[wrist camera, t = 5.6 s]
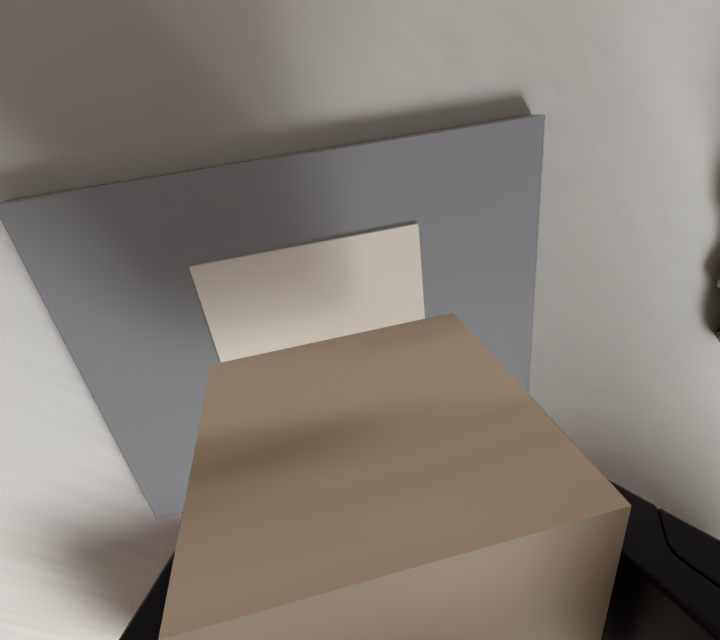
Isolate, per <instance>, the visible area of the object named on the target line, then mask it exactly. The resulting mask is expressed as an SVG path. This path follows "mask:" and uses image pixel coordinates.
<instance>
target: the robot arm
mask: <svg viewBox="0 0 720 640" xmlns="http://www.w3.org/2000/svg"><path fill="white" fill-rule="evenodd" d="M608 481H609V482H610V483H611V484H612V485H613V486H614V487H615V488H616V489H617V490H618V491H619V493H620V494H621V495H622V496H623V497H624V498H625V499H626V500H627V501H628V502H629V503H630V504H631V510H630V515H629V519H628V523H627V528H626V532H625V536H624V541H623V545H622V550H621V554H620V558H619V563H618V567H617V571H616V576H615V580H614V585H613V589H612V593H611V598H610V602H609V607H608V611H607V615H606V620H605V624H604V628H603V633H602V637H601V640H720V540H718V539H716V538H715V537H713V536H711V535H709V534H707V533H705V532H703V531H701V530H699V529H698V528H696V527H694V526H692V525H690V524H688V523H686V522H684V521H682V520H681V519H679V518H677V517H675V516H673V515H672V514H670V513H668V512H666V511H664V510H663V509H658V510H657V507H656V506H655V505H653V504H652V503H650V502H648V501H646V500H644V499H642V498H641V497H639V496H637V495H635V494H633V493H632V492H630V491H628V490H626V489H624V488H623V487H621V486H619V485H617V484H615V483H614V482H612V481H610V480H608ZM174 555H175V551H174V552H173V554H172V555H171V557H170V559H169V560H168V562H167V563H166V565H165V567H164V568H163V570H162V571H161V573H160V575H159V576H158V578H157V579H156V581H155V583H154V584H153V586H152V587H151V589H150V591H149V592H148V594H147V595H146V597H145V599H144V600H143V602H142V603H141V605H140V607H139V608H138V610H137V611H136V613H135V615H134V616H133V618H132V619H131V621H130V623H129V624H128V626H127V627H126V629H125V631H124V632H123V634H122V635H121V637H120V639H119V640H158V639H159V634H160V628H161V623H162V618H163V613H164V607H165V602H166V597H167V592H168V586H169V581H170V576H171V570H172V565H173V560H174Z"/></svg>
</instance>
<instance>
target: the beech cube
mask: <svg viewBox="0 0 720 640" xmlns="http://www.w3.org/2000/svg"><path fill="white" fill-rule="evenodd" d="M630 510H631V504H630V503H629V502H628V501H627V500H626V499H625V498H624V497H623V496H622V495H621V494H620V493H619V491H618V490H617V489H616V488H615V487H614V486H613V485H612V484H611V483H610V482H609V481H608V479H607V478H606V477H605V476H604V475H603V474H602V473H601V472H600V471H599V470H598V469H597V468H596V466H595V465H594V464H593V463H592V462H591V461H590V460H589V459H588V458H587V457H586V456H585V455H584V453H583V452H582V451H581V450H580V449H579V448H578V447H577V446H576V445H575V444H574V443H573V442H572V440H571V439H570V438H569V437H568V436H567V435H566V434H565V433H564V432H563V431H562V430H561V429H560V427H559V426H558V425H557V424H556V423H555V422H554V421H553V420H552V419H551V418H550V417H549V416H548V414H547V413H546V412H545V411H544V410H543V409H542V408H541V407H540V406H539V405H538V404H537V403H536V401H535V400H534V399H533V398H532V397H531V396H530V395H529V394H528V393H527V392H526V391H525V389H524V388H523V387H522V386H521V385H520V384H519V383H518V382H517V381H516V380H515V379H514V378H513V376H512V375H511V374H510V373H509V372H508V371H507V370H506V369H505V368H504V367H503V366H502V365H501V363H500V362H499V361H498V360H497V359H496V358H495V357H494V356H493V355H492V354H491V353H490V352H489V350H488V349H487V348H486V347H485V346H484V345H483V344H482V343H481V342H480V341H479V340H478V339H477V337H476V336H475V335H474V334H473V333H472V332H471V331H470V330H469V329H468V328H467V327H466V326H465V324H464V323H463V322H462V321H461V320H460V319H459V318H458V317H457V316H456V315H455V314H454V312H453V313H448V314H444V315H439V316H435V317H430V318H425V319H421V320H416V321H411V322H407V323H402V324H397V325H393V326H388V327H384V328H379V329H374V330H370V331H365V332H360V333H356V334H351V335H346V336H342V337H337V338H333V339H328V340H323V341H319V342H314V343H309V344H305V345H300V346H295V347H291V348H286V349H282V350H277V351H272V352H268V353H263V354H258V355H254V356H249V357H244V358H240V359H235V360H231V361H226V362H221V363H217V364H212V365H211V366H210V371H209V376H208V381H207V387H206V392H205V397H204V402H203V408H202V413H201V418H200V423H199V429H198V434H197V439H196V444H195V450H194V455H193V460H192V465H191V471H190V476H189V481H188V486H187V492H186V497H185V502H184V507H183V513H182V518H181V523H180V528H179V534H178V539H177V544H176V549H175V555H174V560H173V565H172V570H171V576H170V581H169V586H168V592H167V597H166V602H165V607H164V613H163V618H162V623H161V628H160V634H159V639H158V640H601V637H602V633H603V628H604V624H605V620H606V615H607V611H608V607H609V602H610V598H611V593H612V589H613V585H614V580H615V576H616V571H617V567H618V563H619V558H620V554H621V550H622V545H623V541H624V536H625V532H626V528H627V523H628V519H629V515H630Z"/></svg>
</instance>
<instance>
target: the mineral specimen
mask: <svg viewBox="0 0 720 640" xmlns="http://www.w3.org/2000/svg"><path fill="white" fill-rule="evenodd" d="M717 287H719V288H720V280H719V281H717ZM715 336H716V337H717V339H718V341H719V342H720V330H719V331H718V332H717V333H715Z"/></svg>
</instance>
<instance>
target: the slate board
mask: <svg viewBox="0 0 720 640" xmlns="http://www.w3.org/2000/svg"><path fill="white" fill-rule="evenodd" d="M544 121H545V115H527V116H521V117H514V118H508V119H502V120H496V121H490V122H484V123H478V124H472V125H466V126H460V127H453V128H447V129H441V130H435V131H429V132H423V133H417V134H411V135H405V136H399V137H393V138H386V139H380V140H374V141H368V142H362V143H356V144H350V145H344V146H338V147H332V148H326V149H319V150H313V151H307V152H301V153H295V154H289V155H283V156H277V157H271V158H265V159H258V160H252V161H246V162H240V163H234V164H228V165H222V166H216V167H210V168H204V169H198V170H191V171H185V172H179V173H173V174H167V175H161V176H155V177H149V178H143V179H137V180H131V181H124V182H118V183H112V184H106V185H100V186H94V187H88V188H82V189H76V190H70V191H63V192H57V193H51V194H45V195H39V196H33V197H27V198H21V199H15V200H9V201H5V202H2V203H0V218H1V220H2V222H3V224H4V226H5V228H6V230H7V232H8V234H9V236H10V238H11V240H12V242H13V244H14V245H15V247H16V249H17V251H18V253H19V255H20V257H21V259H22V261H23V263H24V265H25V267H26V269H27V271H28V272H29V274H30V276H31V278H32V280H33V282H34V284H35V286H36V288H37V290H38V292H39V294H40V296H41V298H42V299H43V301H44V303H45V305H46V307H47V309H48V311H49V313H50V315H51V317H52V319H53V321H54V323H55V325H56V326H57V328H58V330H59V332H60V334H61V336H62V338H63V340H64V342H65V344H66V346H67V348H68V350H69V352H70V353H71V355H72V357H73V359H74V361H75V363H76V365H77V367H78V369H79V371H80V373H81V375H82V377H83V379H84V380H85V382H86V384H87V386H88V388H89V390H90V392H91V394H92V396H93V398H94V400H95V402H96V404H97V406H98V407H99V409H100V411H101V413H102V415H103V417H104V419H105V421H106V423H107V425H108V427H109V429H110V431H111V433H112V434H113V436H114V438H115V440H116V442H117V444H118V446H119V448H120V450H121V452H122V454H123V456H124V458H125V460H126V461H127V463H128V465H129V467H130V469H131V471H132V473H133V475H134V477H135V479H136V481H137V483H138V485H139V487H140V488H141V490H142V492H143V494H144V496H145V498H146V500H147V502H148V504H149V506H150V508H151V510H152V512H153V514H154V515H155V517H156V519H158V518H162V517H166V516H170V515H174V514H178V513H182V512H183V507H184V502H185V497H186V492H187V486H188V481H189V476H190V471H191V465H192V460H193V455H194V450H195V444H196V439H197V434H198V429H199V423H200V418H201V413H202V408H203V402H204V397H205V392H206V387H207V381H208V376H209V371H210V366H211V365H212V364H217V363H221V362H226V361H231V360H235V359H240V358H244V357H249V356H254V355H258V354H263V353H268V352H272V351H277V350H282V349H286V348H291V347H295V346H300V345H305V344H309V343H314V342H319V341H323V340H328V339H333V338H337V337H342V336H346V335H351V334H356V333H360V332H365V331H370V330H374V329H379V328H384V327H388V326H393V325H397V324H402V323H407V322H411V321H416V320H421V319H425V318H430V317H435V316H439V315H444V314H448V313H453V312H454V314H455V315H456V316H457V317H458V318H459V319H460V320H461V321H462V322H463V323H464V324H465V326H466V327H467V328H468V329H469V330H470V331H471V332H472V333H473V334H474V335H475V336H476V337H477V339H478V340H479V341H480V342H481V343H482V344H483V345H484V346H485V347H486V348H487V349H488V350H489V352H490V353H491V354H492V355H493V356H494V357H495V358H496V359H497V360H498V361H499V362H500V363H501V365H502V366H503V367H504V368H505V369H506V370H507V371H508V372H509V373H510V374H511V375H512V376H513V378H514V379H515V380H516V381H517V382H518V383H519V384H520V385H521V386H522V387H523V388H524V389H525V391H526V392H527V393H528V389H529V372H530V355H531V339H532V322H533V305H534V288H535V272H536V255H537V238H538V221H539V205H540V188H541V171H542V154H543V138H544Z"/></svg>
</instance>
